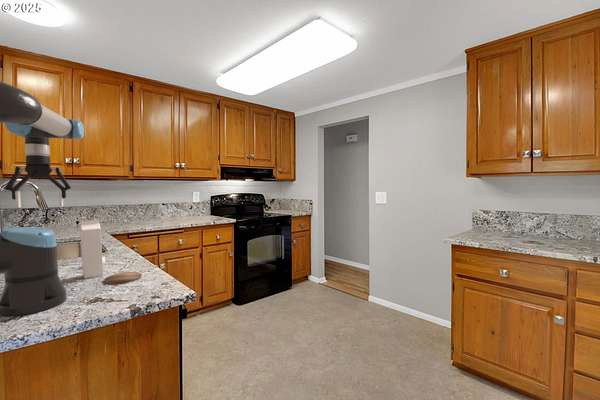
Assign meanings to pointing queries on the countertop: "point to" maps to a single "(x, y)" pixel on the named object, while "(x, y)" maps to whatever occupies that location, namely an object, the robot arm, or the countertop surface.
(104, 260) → the cream rounded dome part
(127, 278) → the disc
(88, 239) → the milk
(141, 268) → the countertop surface
